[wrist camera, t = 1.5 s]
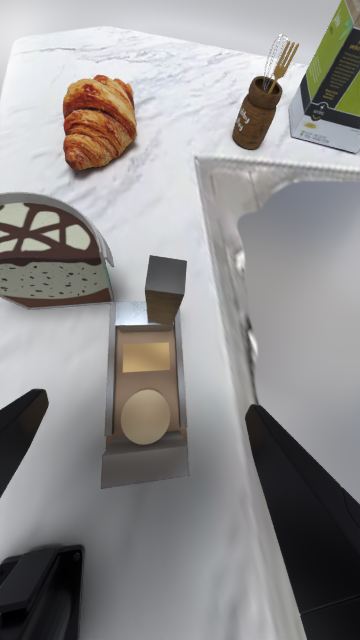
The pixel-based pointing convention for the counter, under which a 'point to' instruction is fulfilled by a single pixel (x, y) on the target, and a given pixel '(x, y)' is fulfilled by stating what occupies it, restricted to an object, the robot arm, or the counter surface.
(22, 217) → the food container
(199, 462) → the counter surface
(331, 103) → the tea box
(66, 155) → the croissant
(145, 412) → the nut
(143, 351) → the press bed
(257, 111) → the utensil holder
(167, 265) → the block
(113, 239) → the counter surface
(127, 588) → the counter surface
